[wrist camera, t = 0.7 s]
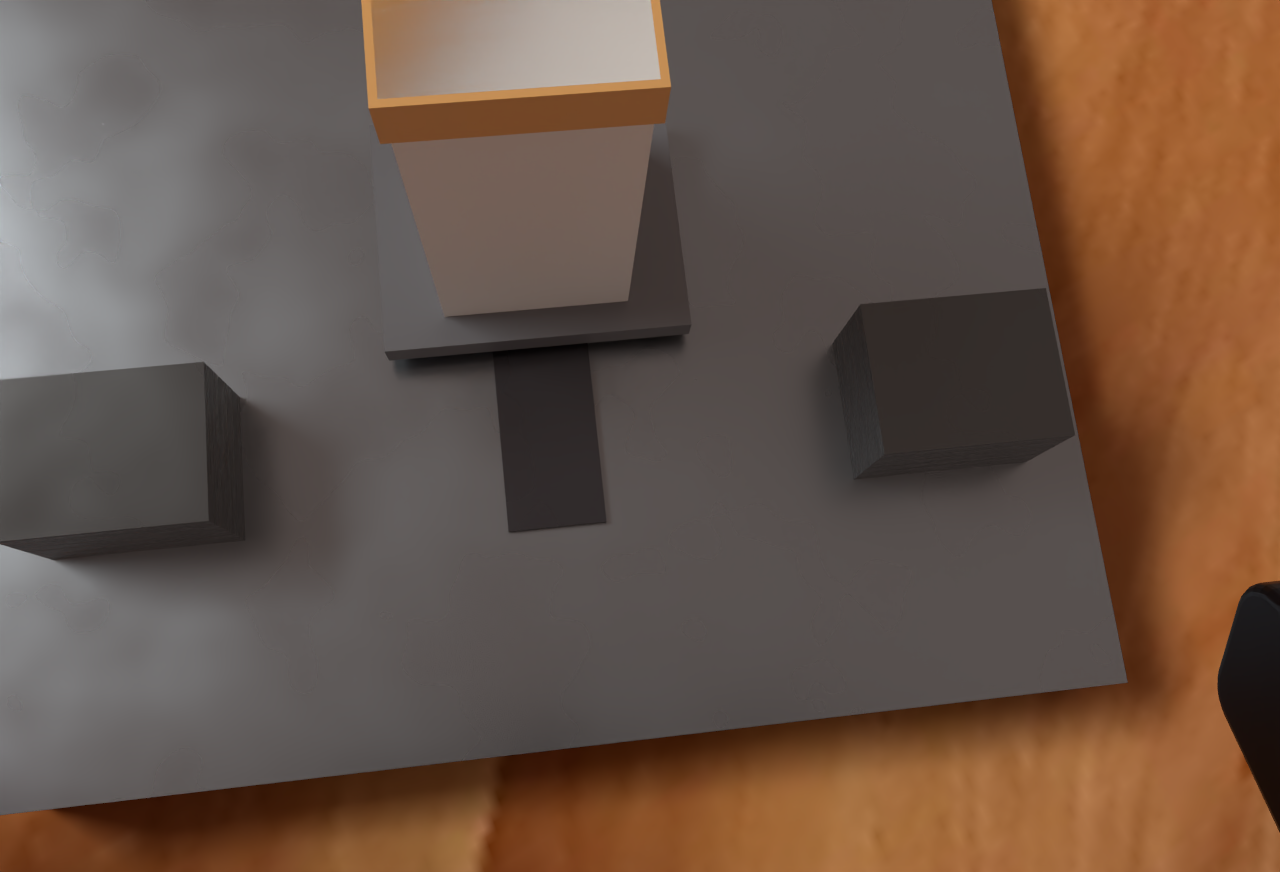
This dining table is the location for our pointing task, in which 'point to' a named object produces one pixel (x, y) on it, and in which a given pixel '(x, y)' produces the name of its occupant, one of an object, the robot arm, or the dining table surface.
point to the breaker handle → (521, 174)
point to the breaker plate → (515, 415)
